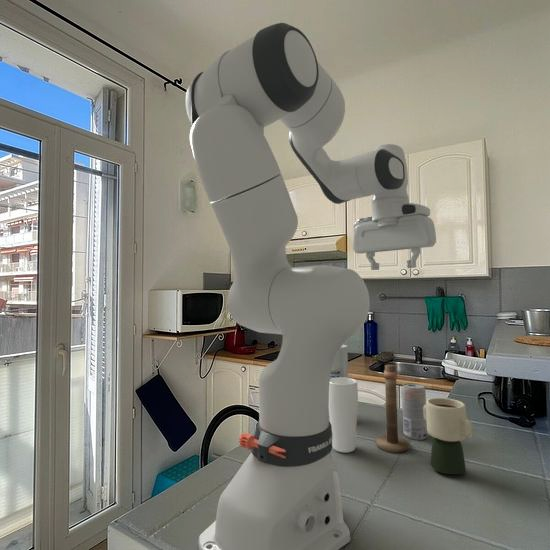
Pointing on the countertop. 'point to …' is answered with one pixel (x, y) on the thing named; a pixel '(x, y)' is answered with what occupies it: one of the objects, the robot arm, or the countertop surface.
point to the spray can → (340, 364)
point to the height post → (391, 416)
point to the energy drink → (414, 411)
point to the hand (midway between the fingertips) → (392, 268)
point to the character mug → (447, 433)
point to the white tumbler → (343, 413)
